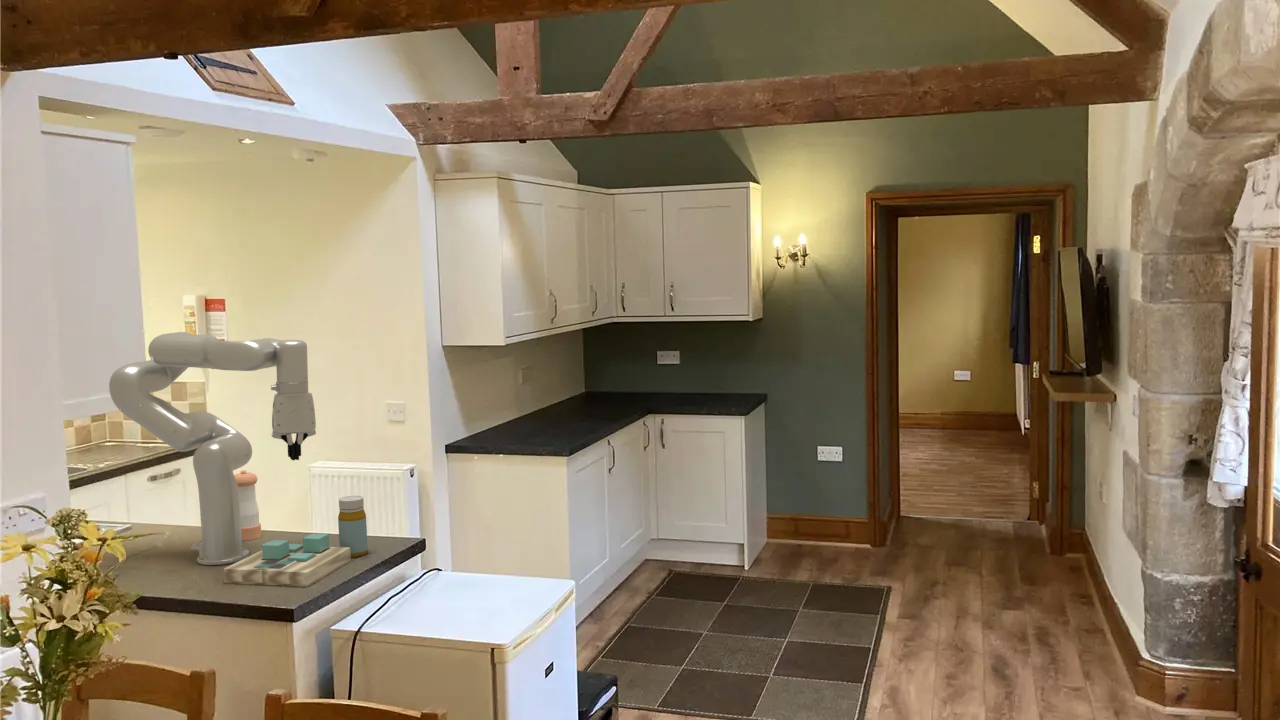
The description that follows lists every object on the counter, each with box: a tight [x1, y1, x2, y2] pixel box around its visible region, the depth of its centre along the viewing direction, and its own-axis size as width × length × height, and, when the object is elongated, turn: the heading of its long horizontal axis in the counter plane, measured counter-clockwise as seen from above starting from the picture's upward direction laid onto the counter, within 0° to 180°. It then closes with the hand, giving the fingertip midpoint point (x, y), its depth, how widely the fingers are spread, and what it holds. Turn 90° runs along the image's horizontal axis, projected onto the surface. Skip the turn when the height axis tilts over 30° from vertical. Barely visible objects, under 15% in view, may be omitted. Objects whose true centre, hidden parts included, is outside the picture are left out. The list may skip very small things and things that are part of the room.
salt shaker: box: [234, 470, 262, 542], centre depth 281 cm, size 7×7×19 cm
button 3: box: [288, 552, 315, 562], centre depth 247 cm, size 5×5×4 cm
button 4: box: [302, 533, 330, 552], centre depth 254 cm, size 5×5×4 cm
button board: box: [223, 546, 352, 588], centre depth 248 cm, size 22×21×4 cm
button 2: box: [289, 543, 303, 553], centre depth 256 cm, size 5×5×4 cm
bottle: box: [337, 495, 369, 559], centre depth 261 cm, size 7×7×15 cm
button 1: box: [261, 539, 290, 560], centre depth 249 cm, size 5×5×4 cm
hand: (294, 459), depth 256 cm, fingers closed
